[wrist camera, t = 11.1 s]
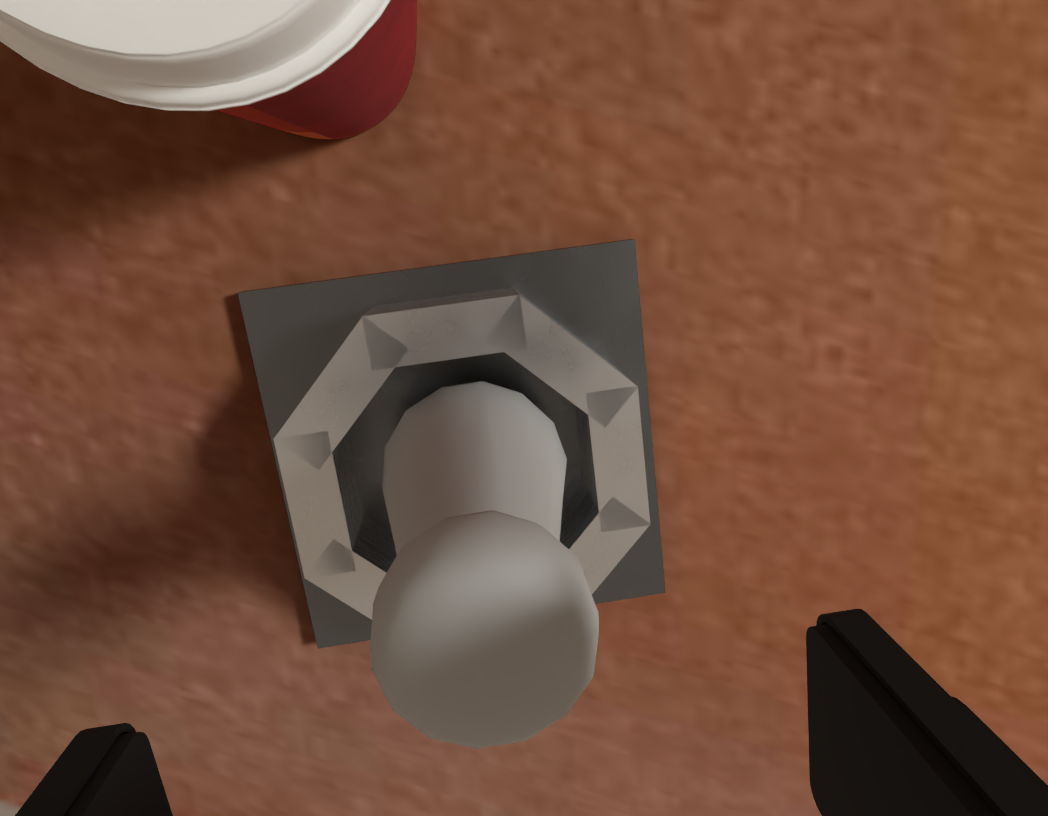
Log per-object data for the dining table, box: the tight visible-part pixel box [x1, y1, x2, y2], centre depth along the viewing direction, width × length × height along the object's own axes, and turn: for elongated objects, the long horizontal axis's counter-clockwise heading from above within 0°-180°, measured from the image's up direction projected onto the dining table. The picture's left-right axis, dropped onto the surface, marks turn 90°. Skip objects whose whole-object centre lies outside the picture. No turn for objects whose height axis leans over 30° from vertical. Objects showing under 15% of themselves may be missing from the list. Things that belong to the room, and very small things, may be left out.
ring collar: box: [238, 239, 665, 648], centre depth 24 cm, size 13×13×4 cm
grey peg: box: [370, 381, 599, 749], centre depth 19 cm, size 6×6×13 cm
